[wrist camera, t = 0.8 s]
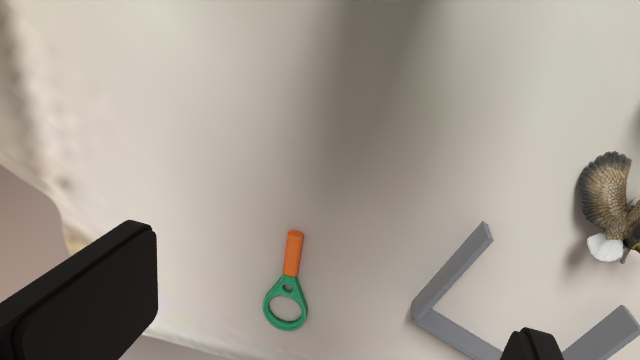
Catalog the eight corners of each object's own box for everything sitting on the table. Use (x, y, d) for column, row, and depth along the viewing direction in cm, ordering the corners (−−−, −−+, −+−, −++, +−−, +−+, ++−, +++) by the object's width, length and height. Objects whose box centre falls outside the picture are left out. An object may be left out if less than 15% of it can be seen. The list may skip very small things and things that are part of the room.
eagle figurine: (688, 233, 36) (698, 149, 32) (676, 287, 32) (685, 199, 28) (589, 218, 41) (587, 145, 37) (569, 262, 37) (564, 186, 33)
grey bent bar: (482, 221, 41) (488, 237, 38) (626, 307, 40) (644, 331, 37) (411, 302, 46) (411, 322, 43) (537, 378, 46) (546, 404, 43)
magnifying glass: (305, 330, 52) (301, 339, 51) (263, 317, 53) (258, 326, 52) (322, 235, 46) (318, 243, 45) (274, 223, 47) (270, 230, 46)
